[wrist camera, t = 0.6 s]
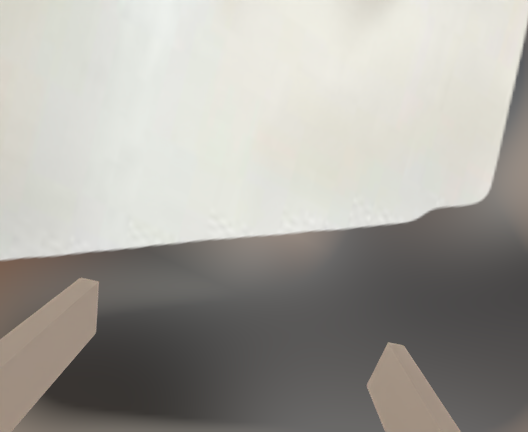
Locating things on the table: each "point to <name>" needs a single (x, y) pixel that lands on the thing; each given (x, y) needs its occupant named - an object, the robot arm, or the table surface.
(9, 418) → the robot arm
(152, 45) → the table surface
